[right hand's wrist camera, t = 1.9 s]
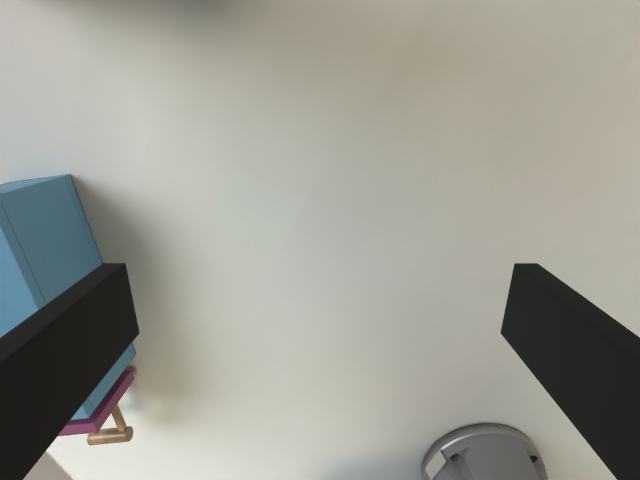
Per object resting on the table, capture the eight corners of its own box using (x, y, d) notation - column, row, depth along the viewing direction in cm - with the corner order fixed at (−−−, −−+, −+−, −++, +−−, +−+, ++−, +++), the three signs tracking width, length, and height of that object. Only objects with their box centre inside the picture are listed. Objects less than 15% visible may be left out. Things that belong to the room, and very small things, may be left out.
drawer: (147, 413, 44) (115, 471, 37) (108, 417, 45) (69, 475, 38) (72, 215, 36) (12, 243, 29) (24, 221, 36) (-48, 250, 29)
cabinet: (136, 353, 42) (88, 418, 34) (85, 359, 43) (25, 425, 34) (70, 174, 35) (-13, 197, 26) (9, 182, 35) (-92, 207, 27)
